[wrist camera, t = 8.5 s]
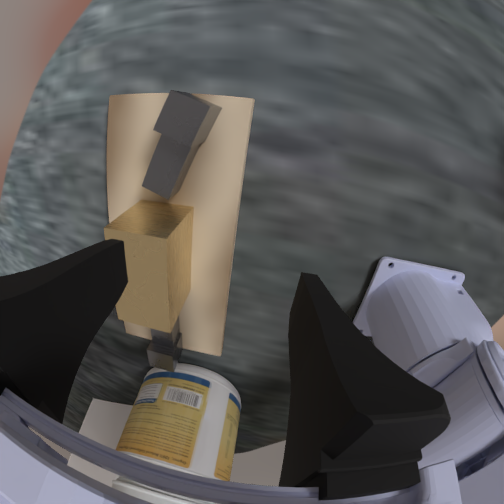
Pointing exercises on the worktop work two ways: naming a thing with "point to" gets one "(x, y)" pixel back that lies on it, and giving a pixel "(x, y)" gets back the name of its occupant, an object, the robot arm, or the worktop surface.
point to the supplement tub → (181, 428)
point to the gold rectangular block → (154, 262)
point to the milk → (101, 435)
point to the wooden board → (187, 200)
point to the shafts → (175, 185)
